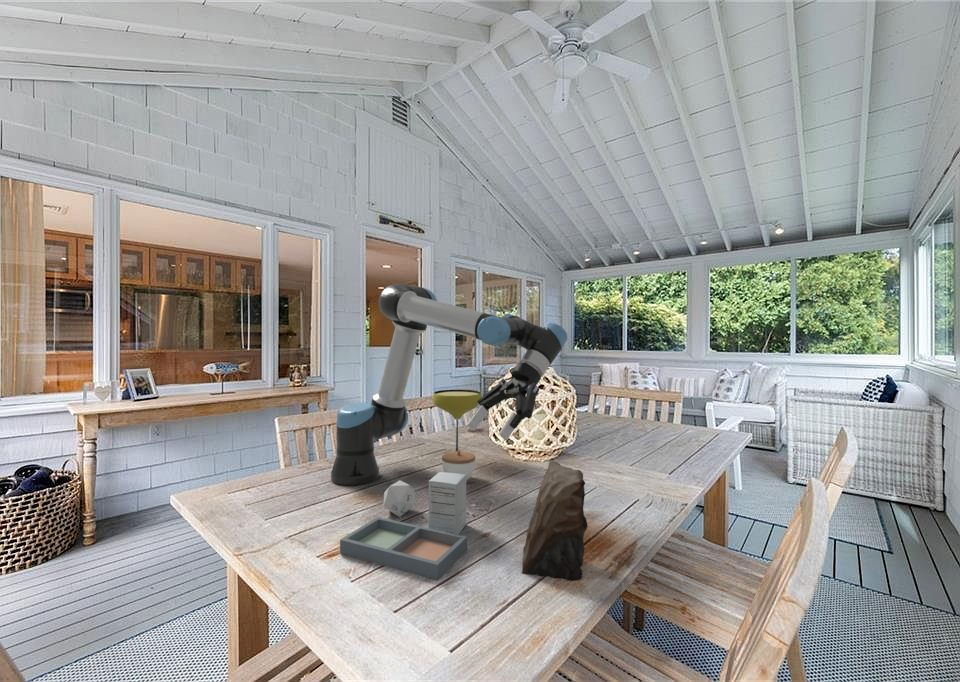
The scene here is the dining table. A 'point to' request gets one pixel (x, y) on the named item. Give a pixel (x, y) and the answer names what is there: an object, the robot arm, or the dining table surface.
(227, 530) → the dining table surface
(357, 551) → the sorting tray
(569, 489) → the brown rock
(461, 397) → the cocktail glass
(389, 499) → the die
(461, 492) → the supplement box
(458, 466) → the lidded jar
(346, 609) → the dining table surface
